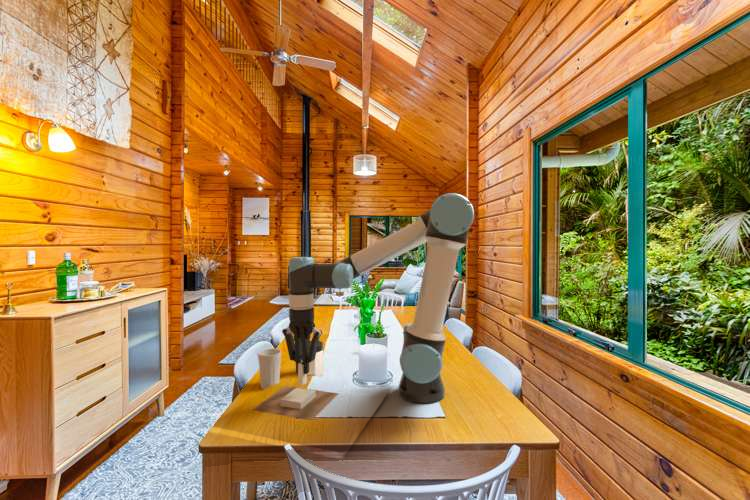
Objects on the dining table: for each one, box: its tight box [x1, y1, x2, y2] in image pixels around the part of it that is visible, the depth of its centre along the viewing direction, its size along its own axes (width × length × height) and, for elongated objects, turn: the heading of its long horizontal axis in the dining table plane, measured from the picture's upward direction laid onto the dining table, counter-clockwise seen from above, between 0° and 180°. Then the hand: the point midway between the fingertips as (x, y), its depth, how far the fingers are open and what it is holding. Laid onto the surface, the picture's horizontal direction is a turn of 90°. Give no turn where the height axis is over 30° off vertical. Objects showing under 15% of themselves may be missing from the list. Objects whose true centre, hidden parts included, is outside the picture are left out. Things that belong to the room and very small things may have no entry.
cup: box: [257, 348, 282, 390], centre depth 124 cm, size 8×8×12 cm
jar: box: [307, 340, 325, 378], centre depth 135 cm, size 9×8×12 cm
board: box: [251, 385, 339, 421], centre depth 110 cm, size 20×18×1 cm
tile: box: [280, 387, 317, 409], centre depth 109 cm, size 2×9×7 cm
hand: (302, 383), depth 109 cm, fingers closed
